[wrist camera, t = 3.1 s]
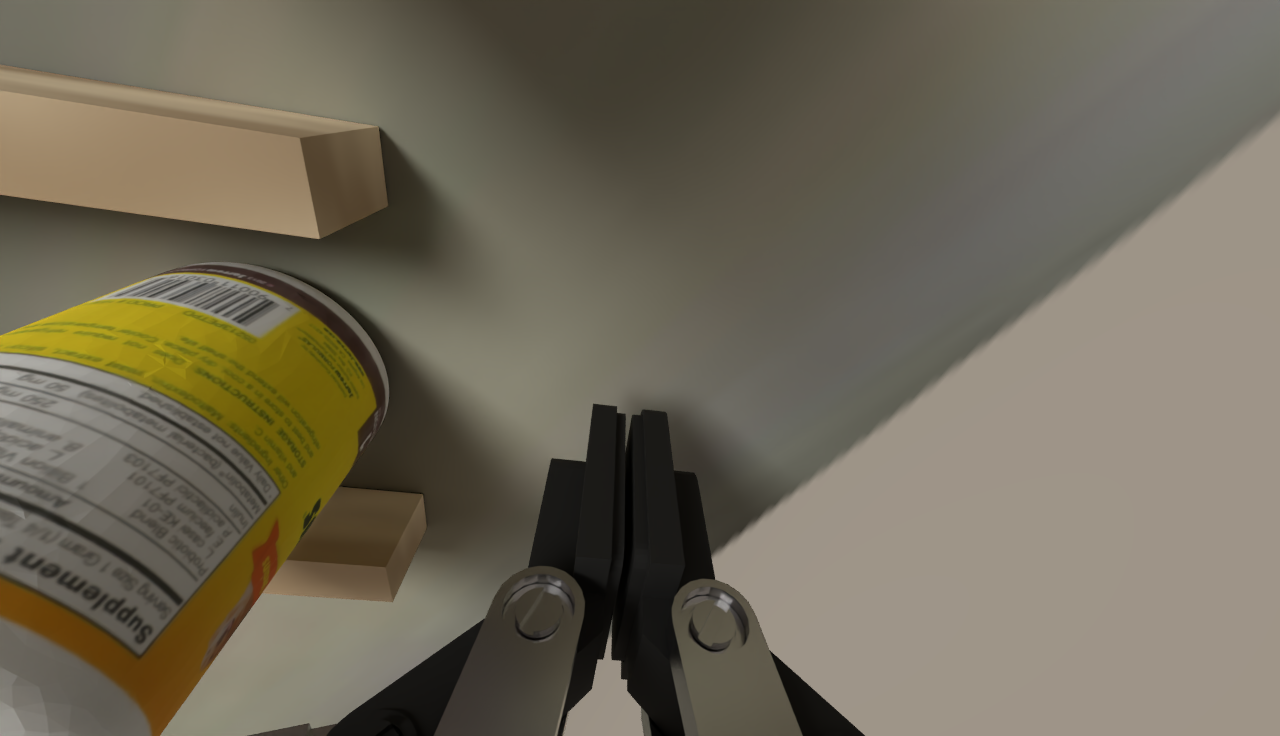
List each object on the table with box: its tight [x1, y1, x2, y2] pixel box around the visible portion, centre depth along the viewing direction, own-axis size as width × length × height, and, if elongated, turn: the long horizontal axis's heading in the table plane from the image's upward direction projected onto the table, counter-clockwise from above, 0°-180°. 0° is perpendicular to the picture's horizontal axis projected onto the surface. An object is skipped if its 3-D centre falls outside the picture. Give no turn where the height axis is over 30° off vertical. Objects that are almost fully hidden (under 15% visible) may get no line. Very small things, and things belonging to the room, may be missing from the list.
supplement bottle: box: [0, 262, 389, 736], centre depth 7 cm, size 6×6×10 cm
